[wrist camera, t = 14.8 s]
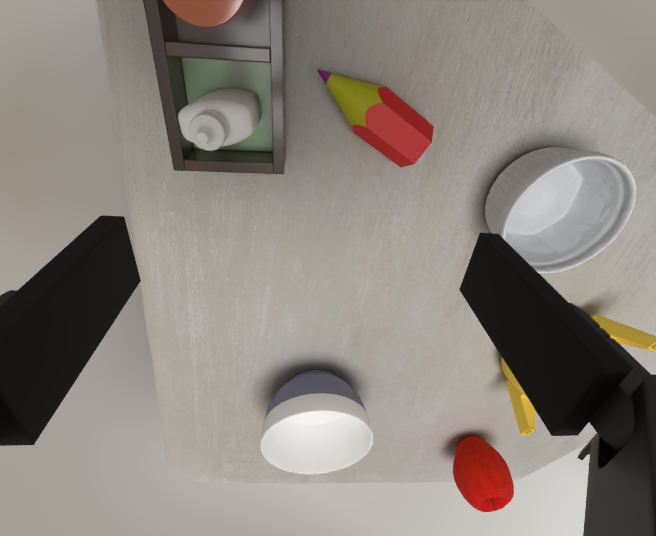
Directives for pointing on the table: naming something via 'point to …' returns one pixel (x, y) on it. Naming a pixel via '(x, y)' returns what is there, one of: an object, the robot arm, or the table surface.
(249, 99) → the eye dropper bottle
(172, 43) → the divided wooden box
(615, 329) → the teapot
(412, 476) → the table surface
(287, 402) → the bowl
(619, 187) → the ramekin
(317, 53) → the table surface
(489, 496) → the apple
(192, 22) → the glossy orange cylinder
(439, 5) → the table surface
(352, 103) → the pencil
